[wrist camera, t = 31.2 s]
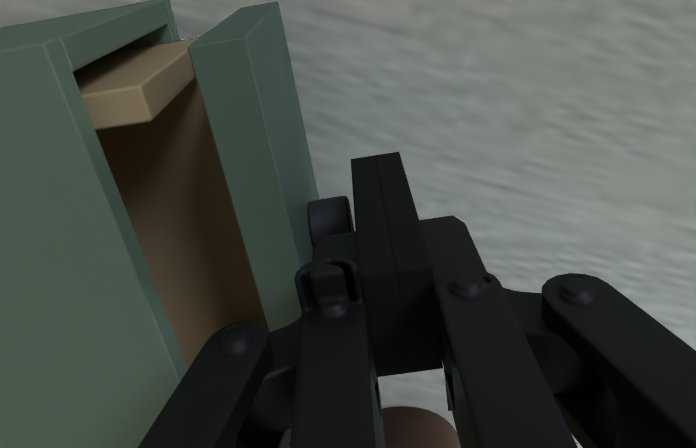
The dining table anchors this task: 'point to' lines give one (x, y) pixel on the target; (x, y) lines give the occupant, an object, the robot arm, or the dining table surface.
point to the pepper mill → (417, 429)
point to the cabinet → (74, 248)
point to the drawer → (214, 172)
